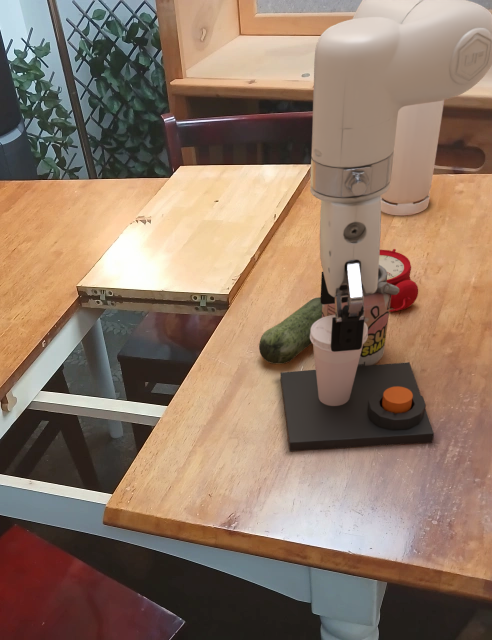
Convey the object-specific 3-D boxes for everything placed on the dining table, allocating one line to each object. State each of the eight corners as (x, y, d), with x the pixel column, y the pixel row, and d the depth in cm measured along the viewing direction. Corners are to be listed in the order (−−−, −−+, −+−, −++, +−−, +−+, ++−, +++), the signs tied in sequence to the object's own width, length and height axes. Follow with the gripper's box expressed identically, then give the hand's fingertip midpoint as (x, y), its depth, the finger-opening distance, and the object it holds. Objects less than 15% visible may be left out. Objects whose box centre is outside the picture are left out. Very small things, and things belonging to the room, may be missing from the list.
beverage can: (349, 328, 102) (356, 247, 93) (402, 349, 97) (415, 265, 88) (306, 359, 99) (309, 278, 90) (358, 382, 93) (366, 298, 85)
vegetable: (282, 376, 97) (283, 344, 93) (251, 363, 100) (251, 332, 96) (345, 327, 102) (347, 295, 99) (314, 316, 105) (315, 284, 102)
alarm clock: (405, 242, 108) (431, 270, 96) (402, 284, 112) (427, 316, 99) (333, 250, 110) (349, 279, 98) (331, 292, 114) (348, 324, 101)
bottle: (427, 192, 126) (455, 1, 106) (430, 214, 121) (460, 16, 101) (377, 195, 128) (396, 8, 108) (378, 216, 123) (398, 23, 103)
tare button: (408, 395, 86) (409, 385, 85) (413, 412, 84) (415, 402, 83) (379, 398, 87) (381, 387, 86) (384, 414, 85) (385, 404, 83)
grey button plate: (408, 370, 93) (411, 351, 91) (432, 442, 84) (436, 422, 82) (280, 380, 96) (280, 361, 94) (289, 451, 87) (289, 432, 84)
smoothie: (348, 376, 92) (357, 274, 83) (370, 405, 88) (382, 302, 78) (299, 387, 92) (302, 287, 82) (318, 418, 88) (324, 315, 78)
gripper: (409, 205, 64) (388, 366, 76) (376, 133, 76) (362, 282, 88) (321, 216, 66) (314, 372, 78) (302, 143, 77) (298, 289, 90)
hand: (339, 324), depth 83 cm, fingers open, 9 cm apart
